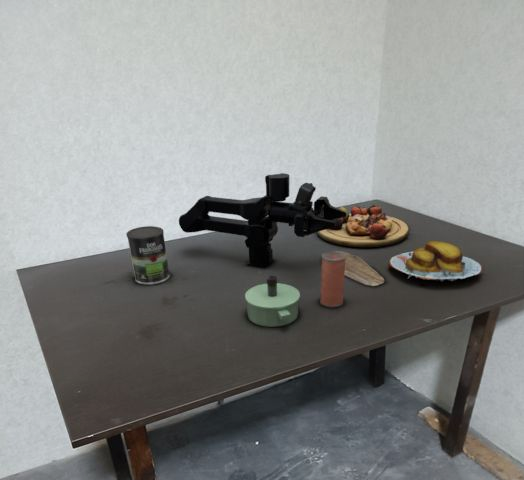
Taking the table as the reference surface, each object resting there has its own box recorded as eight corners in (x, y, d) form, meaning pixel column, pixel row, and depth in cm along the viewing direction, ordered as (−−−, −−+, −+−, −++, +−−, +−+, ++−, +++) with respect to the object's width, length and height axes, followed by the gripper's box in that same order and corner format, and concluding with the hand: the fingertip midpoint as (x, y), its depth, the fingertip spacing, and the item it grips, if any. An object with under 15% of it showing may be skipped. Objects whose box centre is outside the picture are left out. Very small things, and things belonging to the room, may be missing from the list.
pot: (261, 336, 113) (260, 317, 111) (238, 303, 128) (237, 286, 125) (310, 325, 117) (310, 307, 114) (283, 295, 131) (282, 278, 128)
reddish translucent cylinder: (317, 305, 125) (318, 258, 118) (324, 295, 130) (326, 249, 123) (338, 309, 123) (341, 261, 116) (346, 299, 128) (349, 253, 121)
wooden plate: (418, 247, 157) (422, 222, 152) (320, 250, 158) (321, 225, 153) (396, 217, 184) (399, 195, 179) (313, 220, 185) (313, 198, 180)
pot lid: (255, 315, 113) (254, 294, 110) (238, 292, 123) (236, 272, 120) (308, 305, 116) (309, 283, 113) (287, 283, 127) (287, 263, 124)
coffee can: (174, 280, 142) (168, 233, 135) (140, 287, 138) (131, 240, 131) (164, 268, 150) (157, 223, 142) (131, 275, 146) (122, 230, 139)
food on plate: (372, 274, 141) (374, 252, 137) (414, 249, 156) (416, 229, 152) (457, 298, 126) (462, 274, 122) (494, 268, 141) (499, 247, 137)
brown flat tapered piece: (396, 279, 137) (397, 275, 136) (369, 290, 133) (369, 287, 133) (339, 250, 156) (339, 247, 155) (314, 260, 152) (313, 256, 151)
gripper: (274, 192, 127) (330, 198, 120) (301, 176, 140) (353, 180, 134) (274, 234, 133) (328, 241, 127) (301, 214, 147) (350, 220, 140)
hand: (340, 219), depth 132 cm, fingers open, 9 cm apart
